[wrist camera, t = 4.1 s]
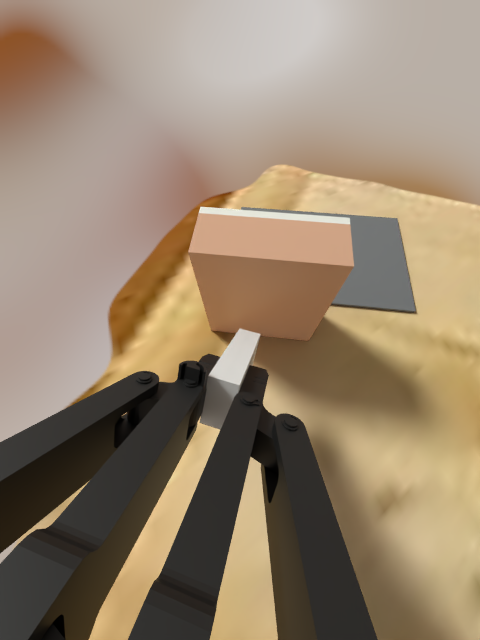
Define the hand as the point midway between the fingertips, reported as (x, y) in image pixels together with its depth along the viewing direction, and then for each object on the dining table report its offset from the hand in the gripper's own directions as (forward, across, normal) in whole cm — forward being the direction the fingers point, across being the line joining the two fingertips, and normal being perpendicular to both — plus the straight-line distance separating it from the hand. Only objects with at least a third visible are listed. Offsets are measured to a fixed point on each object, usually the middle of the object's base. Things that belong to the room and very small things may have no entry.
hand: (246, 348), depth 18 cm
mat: (+17, -4, -6) cm, 18 cm away
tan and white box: (+10, 0, +1) cm, 10 cm away
